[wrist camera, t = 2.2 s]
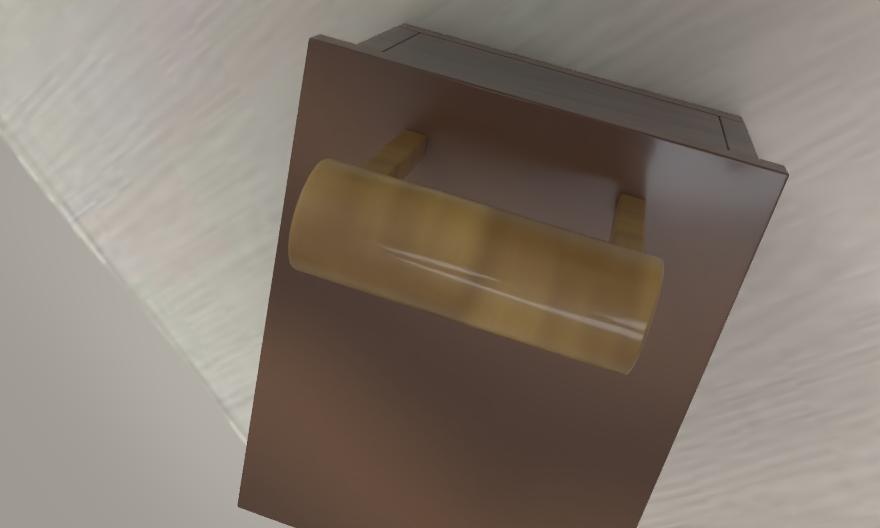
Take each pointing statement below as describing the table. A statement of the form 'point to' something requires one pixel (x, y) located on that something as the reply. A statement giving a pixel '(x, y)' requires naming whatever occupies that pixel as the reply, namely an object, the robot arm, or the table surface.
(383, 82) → the lid
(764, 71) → the table surface
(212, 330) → the table surface
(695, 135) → the chest
